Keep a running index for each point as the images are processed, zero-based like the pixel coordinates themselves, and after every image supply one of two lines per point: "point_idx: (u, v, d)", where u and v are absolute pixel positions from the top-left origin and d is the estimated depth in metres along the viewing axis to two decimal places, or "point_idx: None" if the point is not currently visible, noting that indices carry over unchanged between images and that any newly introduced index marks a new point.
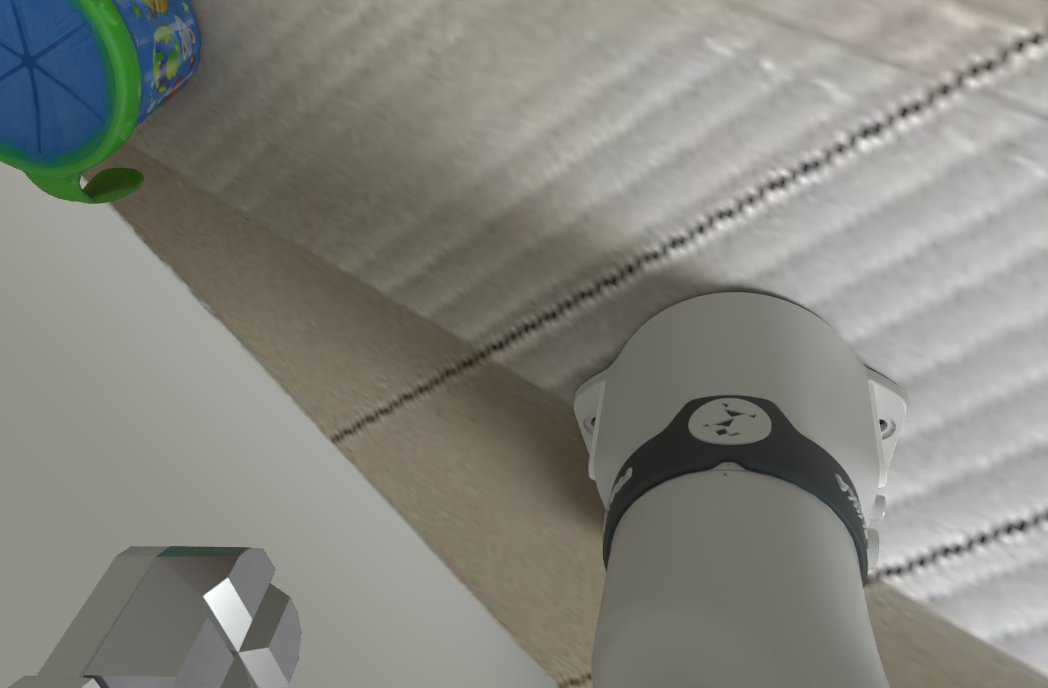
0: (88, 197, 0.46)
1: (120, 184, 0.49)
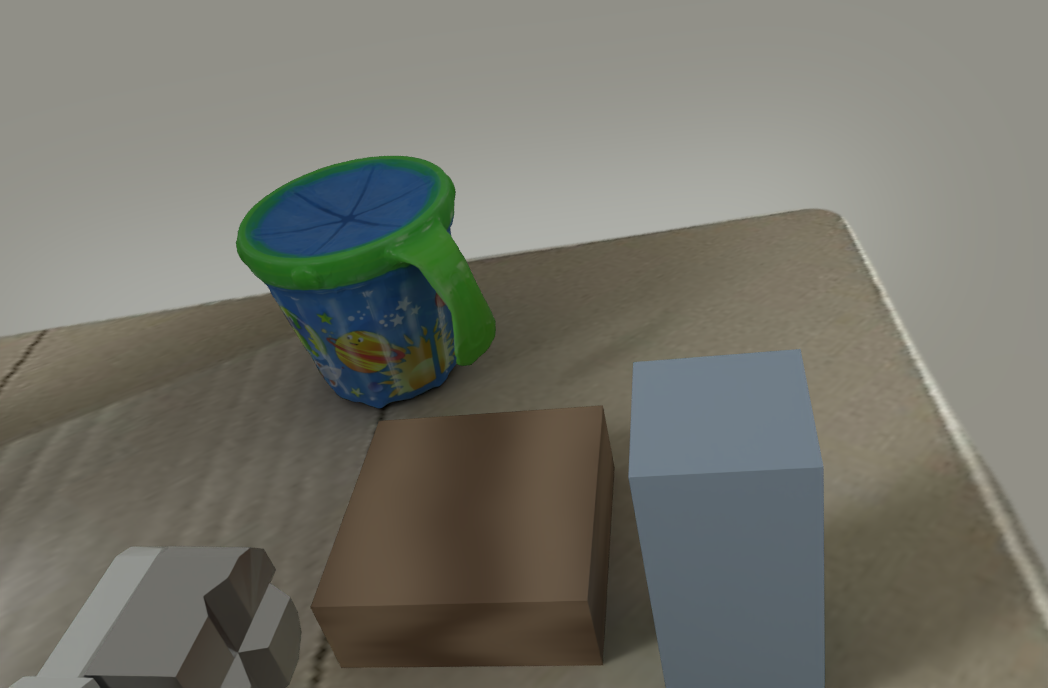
0: None
1: None
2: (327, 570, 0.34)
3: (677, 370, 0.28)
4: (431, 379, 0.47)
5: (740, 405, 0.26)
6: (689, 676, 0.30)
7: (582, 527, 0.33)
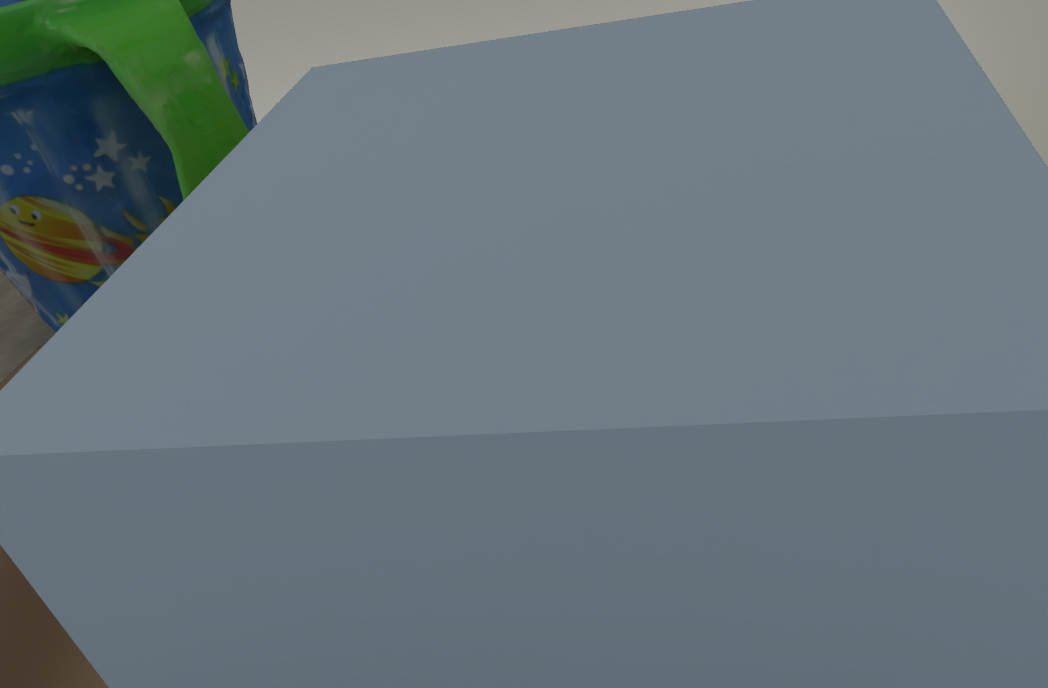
0: None
1: None
2: None
3: (441, 69, 0.07)
4: None
5: (646, 137, 0.05)
6: None
7: None
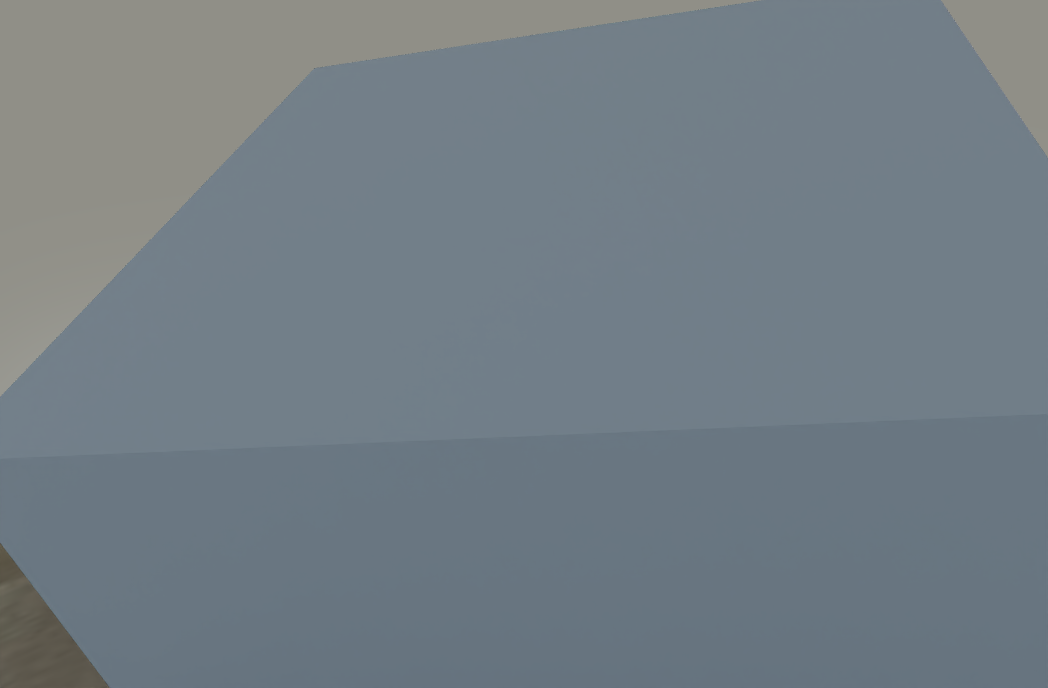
0: None
1: None
2: None
3: (444, 70, 0.07)
4: None
5: (652, 138, 0.05)
6: None
7: None
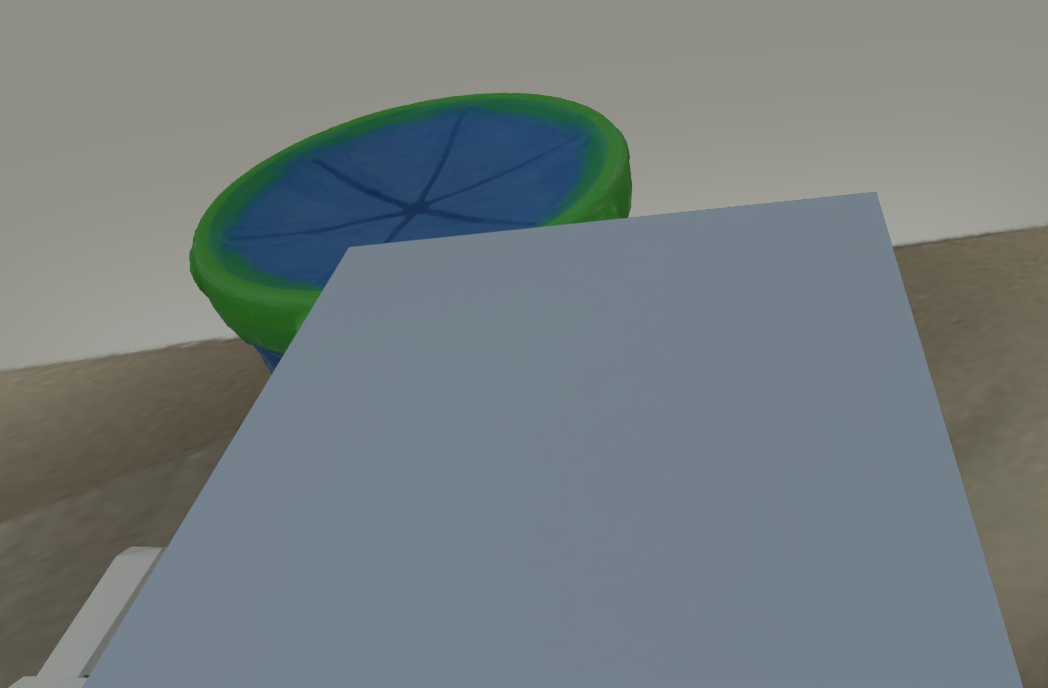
0: None
1: None
2: None
3: (463, 264, 0.08)
4: None
5: (638, 377, 0.07)
6: None
7: None
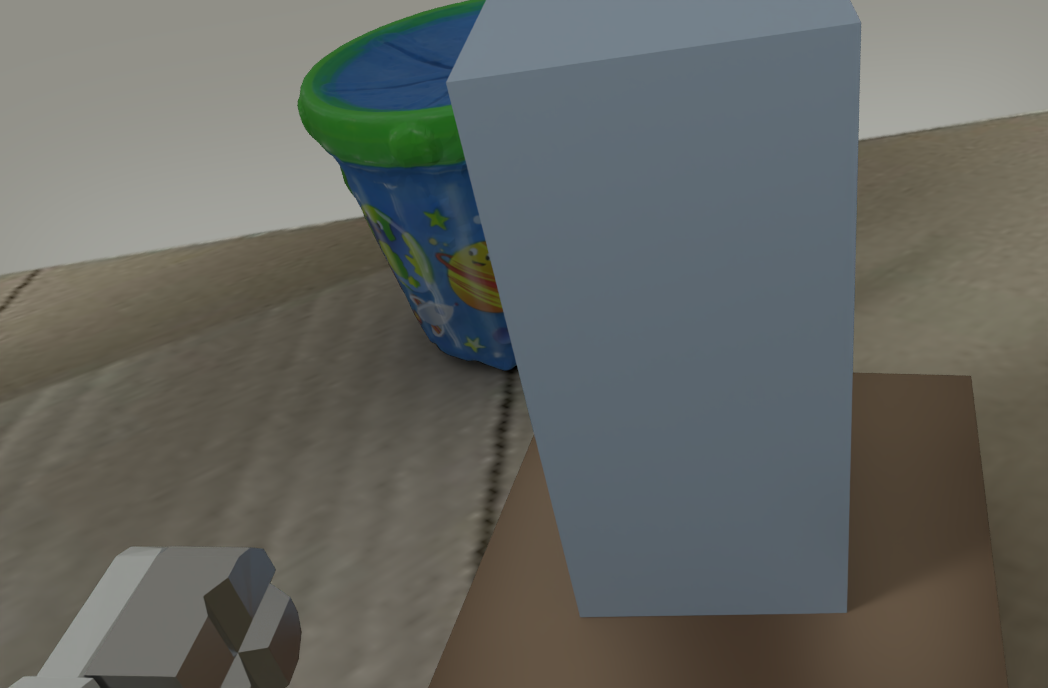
0: None
1: None
2: (463, 618, 0.19)
3: None
4: None
5: None
6: (609, 551, 0.17)
7: (974, 609, 0.17)
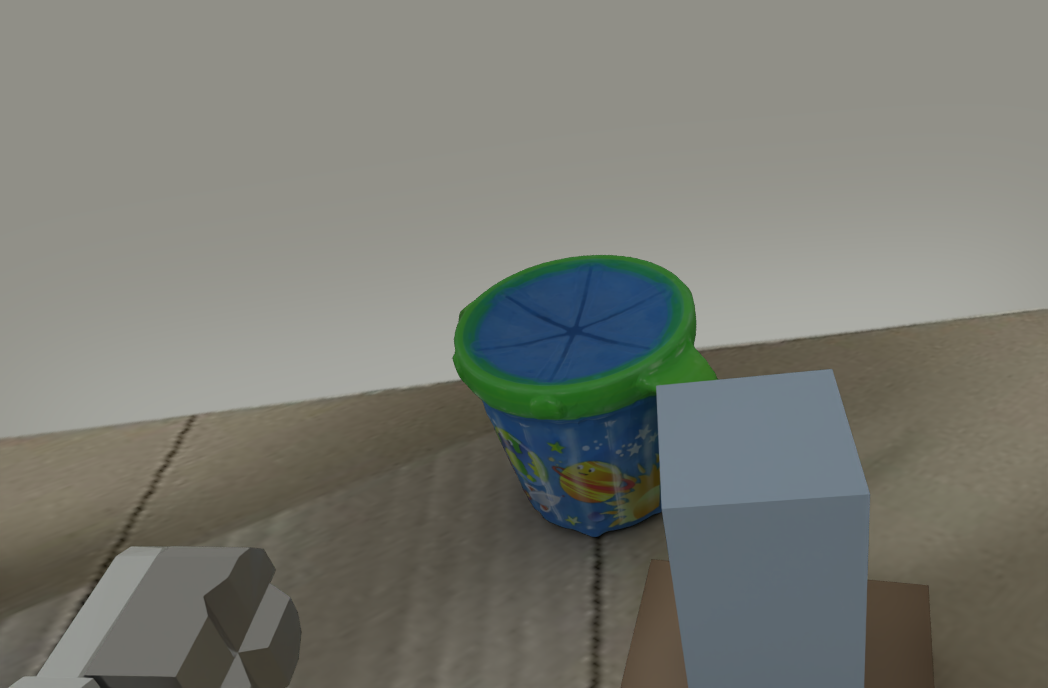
0: (460, 318, 0.45)
1: None
2: None
3: (703, 393, 0.26)
4: (654, 507, 0.42)
5: (773, 430, 0.25)
6: None
7: None
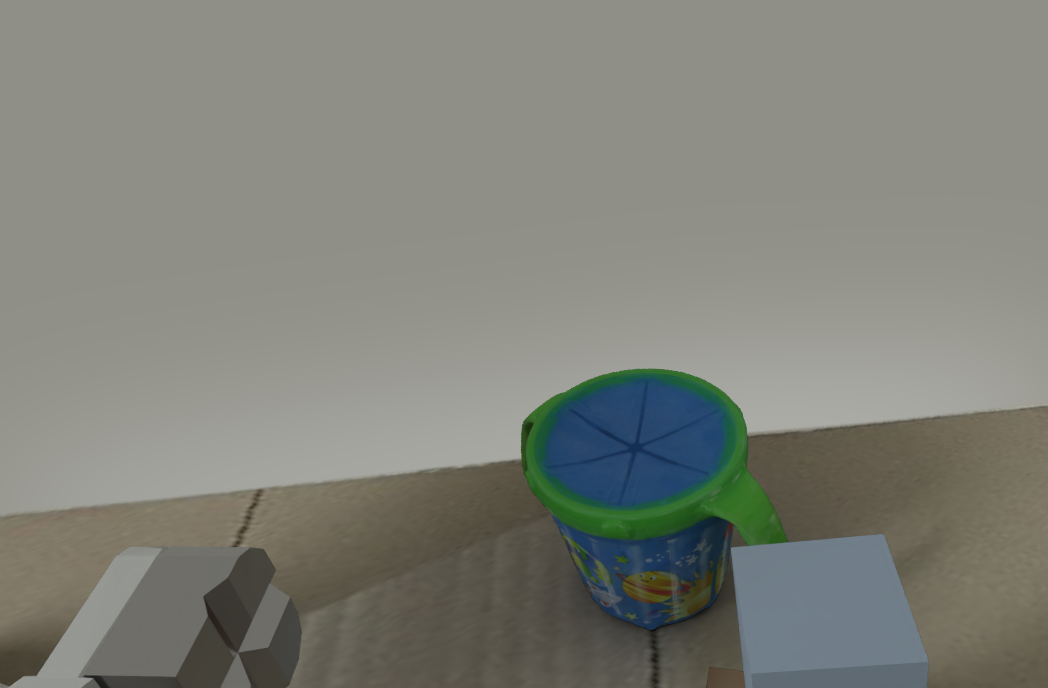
0: (525, 424, 0.48)
1: None
2: None
3: (773, 556, 0.31)
4: (706, 603, 0.46)
5: (839, 595, 0.29)
6: None
7: None
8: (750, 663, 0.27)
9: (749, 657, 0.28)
